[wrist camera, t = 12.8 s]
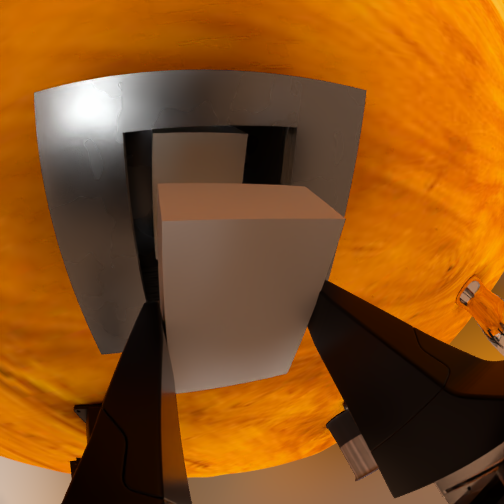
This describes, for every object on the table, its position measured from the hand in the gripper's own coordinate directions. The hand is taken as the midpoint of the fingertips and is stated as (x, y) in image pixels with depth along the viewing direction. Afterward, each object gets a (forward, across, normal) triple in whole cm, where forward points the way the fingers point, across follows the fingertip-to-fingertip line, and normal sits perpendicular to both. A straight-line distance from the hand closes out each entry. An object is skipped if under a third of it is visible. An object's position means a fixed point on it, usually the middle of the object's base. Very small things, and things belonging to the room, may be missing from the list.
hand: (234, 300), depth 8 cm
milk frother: (+9, -27, +44) cm, 53 cm away
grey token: (+1, 0, 0) cm, 1 cm away
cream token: (+8, 0, 0) cm, 8 cm away
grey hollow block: (+9, 0, 0) cm, 9 cm away
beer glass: (+9, -44, +19) cm, 49 cm away
